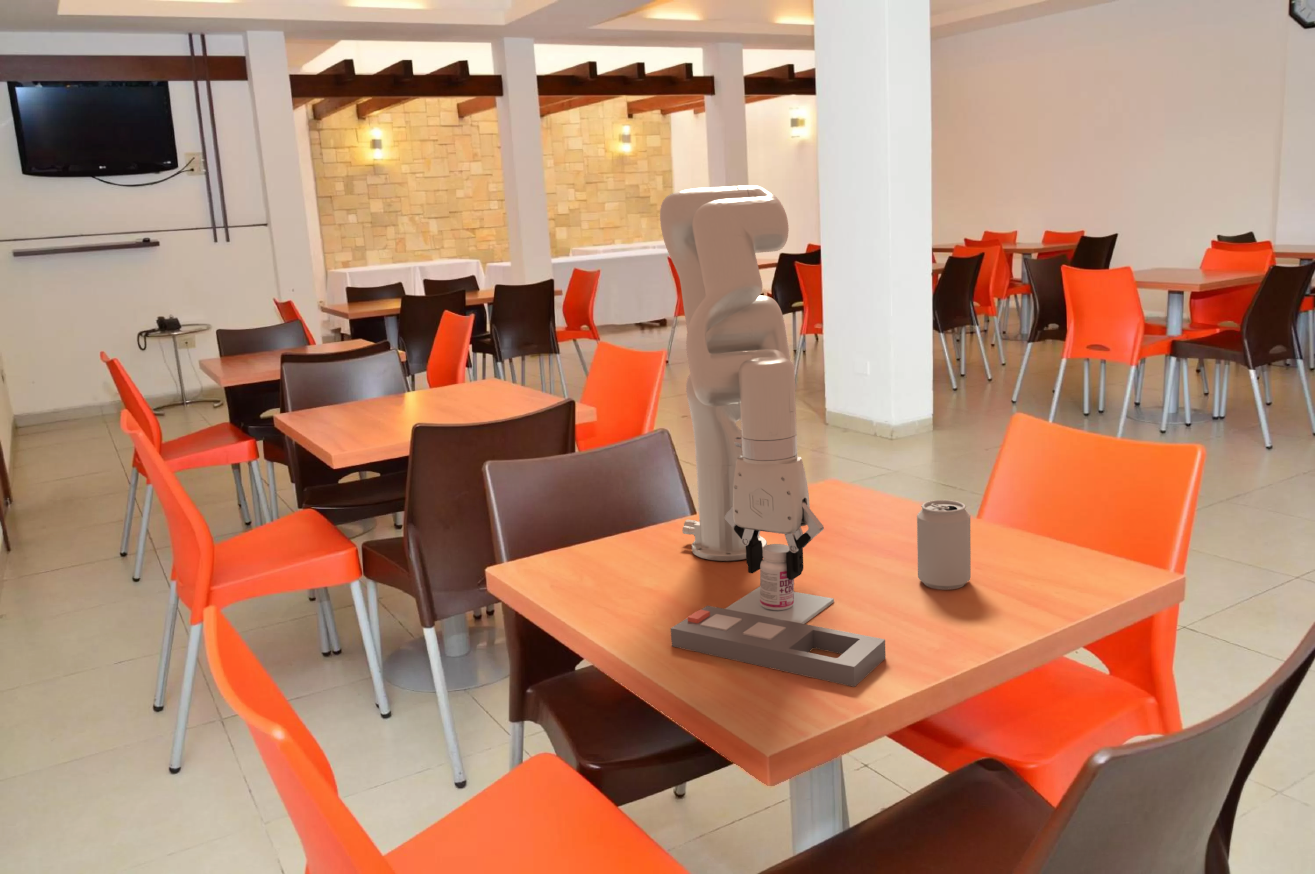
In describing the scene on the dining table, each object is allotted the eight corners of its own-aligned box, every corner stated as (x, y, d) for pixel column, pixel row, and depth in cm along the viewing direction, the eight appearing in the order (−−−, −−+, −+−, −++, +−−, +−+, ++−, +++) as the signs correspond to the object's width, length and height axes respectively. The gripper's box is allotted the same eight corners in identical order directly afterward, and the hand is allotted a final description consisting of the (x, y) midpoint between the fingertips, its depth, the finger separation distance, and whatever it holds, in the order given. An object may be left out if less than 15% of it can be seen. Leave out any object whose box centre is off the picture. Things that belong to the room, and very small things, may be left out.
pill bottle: (784, 613, 143) (784, 555, 141) (754, 607, 146) (753, 550, 144) (799, 602, 147) (799, 545, 145) (769, 596, 150) (769, 540, 148)
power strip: (671, 646, 136) (670, 623, 136) (708, 622, 143) (707, 601, 143) (854, 686, 121) (853, 662, 121) (885, 658, 128) (885, 634, 128)
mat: (718, 616, 145) (717, 613, 145) (760, 589, 155) (760, 585, 155) (794, 631, 138) (794, 627, 138) (834, 601, 148) (833, 598, 148)
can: (972, 591, 148) (972, 511, 146) (918, 591, 150) (917, 511, 147) (968, 574, 155) (968, 497, 153) (916, 573, 157) (915, 497, 155)
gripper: (702, 449, 144) (709, 573, 148) (813, 459, 134) (818, 591, 138) (730, 438, 150) (736, 557, 153) (839, 446, 140) (842, 574, 144)
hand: (774, 572), depth 146 cm, fingers open, 5 cm apart
